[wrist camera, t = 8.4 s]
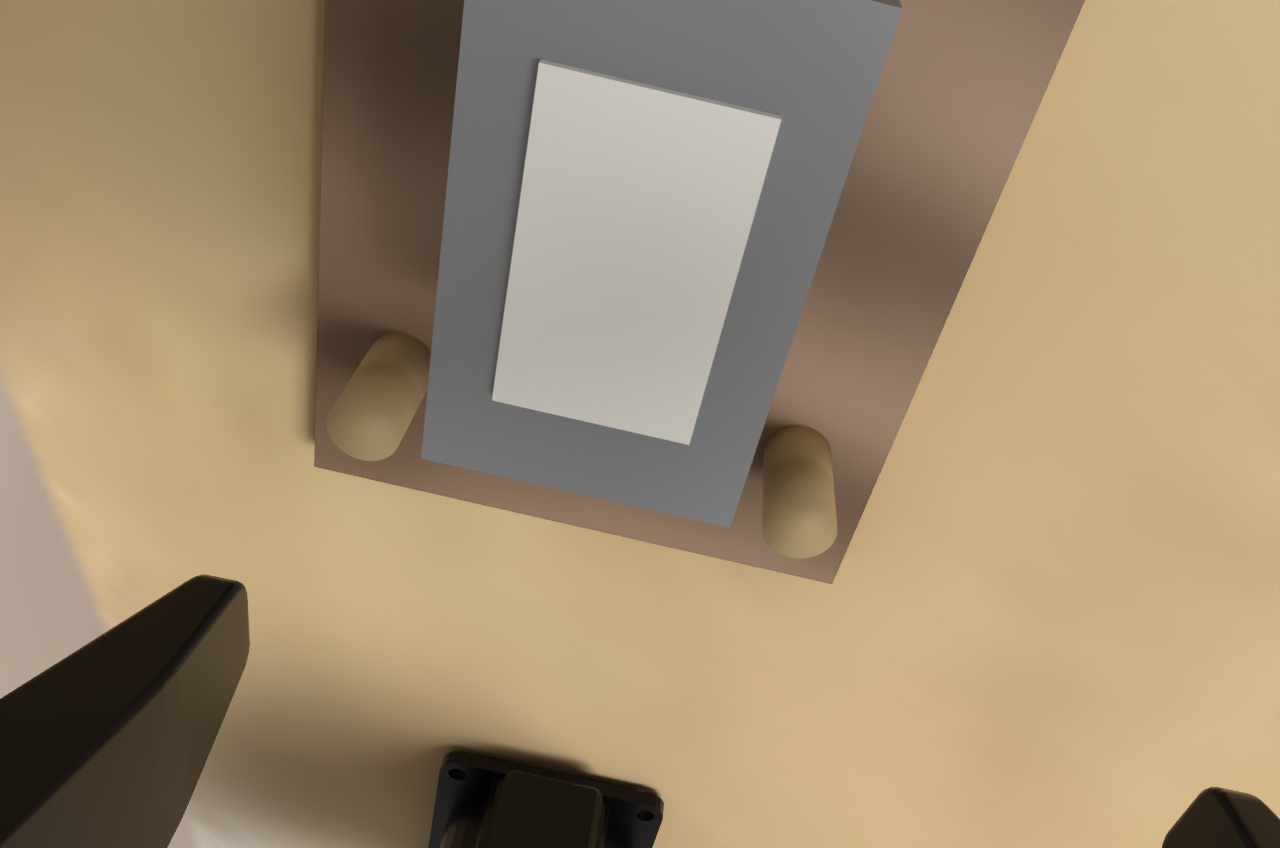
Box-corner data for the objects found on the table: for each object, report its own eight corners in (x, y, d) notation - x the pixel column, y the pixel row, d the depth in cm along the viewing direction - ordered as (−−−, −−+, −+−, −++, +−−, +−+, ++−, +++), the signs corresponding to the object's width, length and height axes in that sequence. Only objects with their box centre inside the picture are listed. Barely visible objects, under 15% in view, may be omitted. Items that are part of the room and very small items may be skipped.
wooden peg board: (830, 561, 24) (837, 667, 21) (327, 446, 24) (269, 538, 21) (1241, -410, 14) (1357, -444, 11) (361, -636, 13) (257, -729, 11)
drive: (738, 366, 20) (729, 533, 16) (492, 309, 20) (418, 463, 16) (868, -65, 16) (903, 11, 12) (551, -141, 16) (469, -93, 11)
